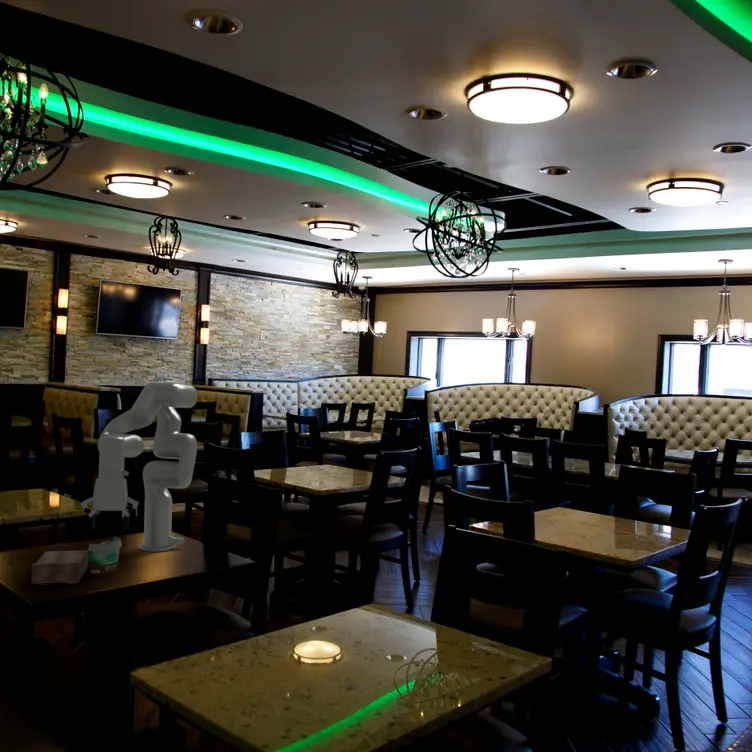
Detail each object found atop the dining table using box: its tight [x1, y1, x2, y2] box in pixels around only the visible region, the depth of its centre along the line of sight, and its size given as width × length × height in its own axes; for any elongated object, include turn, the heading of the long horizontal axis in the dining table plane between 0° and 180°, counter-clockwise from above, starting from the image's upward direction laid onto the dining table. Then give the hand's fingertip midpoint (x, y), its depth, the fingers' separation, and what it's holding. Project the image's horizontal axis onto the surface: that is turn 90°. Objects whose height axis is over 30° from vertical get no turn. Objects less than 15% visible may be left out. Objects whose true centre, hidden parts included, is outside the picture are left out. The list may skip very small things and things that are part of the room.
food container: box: [88, 536, 123, 576], centre depth 232 cm, size 12×6×10 cm, turn 161°
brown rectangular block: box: [30, 550, 90, 585], centre depth 228 cm, size 13×20×6 cm, turn 13°
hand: (109, 528), depth 232 cm, fingers open, 9 cm apart
